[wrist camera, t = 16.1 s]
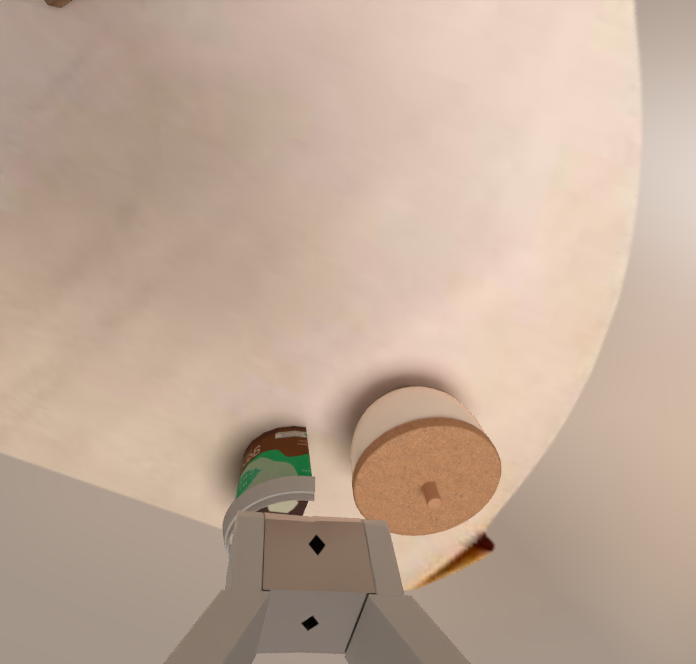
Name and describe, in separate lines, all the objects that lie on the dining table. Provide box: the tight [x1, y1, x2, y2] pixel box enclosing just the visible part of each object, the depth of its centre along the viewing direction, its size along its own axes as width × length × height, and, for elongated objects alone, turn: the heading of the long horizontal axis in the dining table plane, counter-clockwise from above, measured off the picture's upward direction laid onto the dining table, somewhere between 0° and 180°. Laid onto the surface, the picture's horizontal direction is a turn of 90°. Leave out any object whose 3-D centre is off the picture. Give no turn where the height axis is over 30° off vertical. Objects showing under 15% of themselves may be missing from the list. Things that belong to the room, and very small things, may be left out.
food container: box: [223, 426, 315, 557], centre depth 45 cm, size 12×6×10 cm, turn 161°
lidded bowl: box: [351, 386, 501, 536], centre depth 44 cm, size 13×13×11 cm
